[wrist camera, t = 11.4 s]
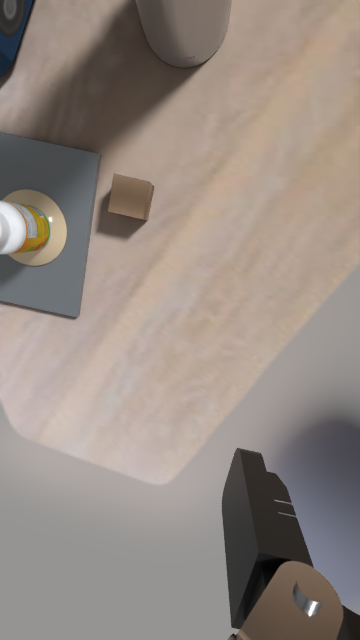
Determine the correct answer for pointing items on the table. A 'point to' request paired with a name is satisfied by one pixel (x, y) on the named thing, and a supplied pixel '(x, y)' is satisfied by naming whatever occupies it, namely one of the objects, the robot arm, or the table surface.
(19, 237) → the supplement bottle
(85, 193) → the slate board
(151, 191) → the walnut block
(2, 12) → the radio
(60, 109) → the table surface
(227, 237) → the table surface
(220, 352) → the table surface
